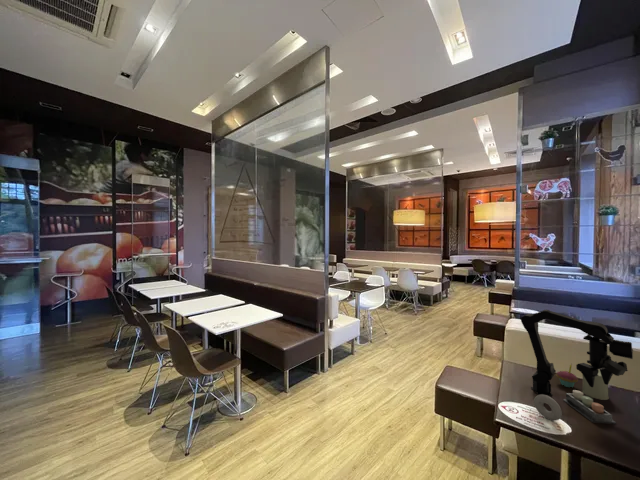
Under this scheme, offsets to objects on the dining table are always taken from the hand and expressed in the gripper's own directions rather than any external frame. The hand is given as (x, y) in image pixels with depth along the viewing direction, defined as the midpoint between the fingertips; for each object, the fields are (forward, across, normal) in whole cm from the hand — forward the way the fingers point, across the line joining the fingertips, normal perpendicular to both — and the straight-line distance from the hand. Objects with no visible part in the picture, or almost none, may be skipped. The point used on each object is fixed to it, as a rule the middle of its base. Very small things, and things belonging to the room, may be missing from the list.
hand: (598, 385), depth 120 cm
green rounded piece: (+9, -5, +1) cm, 11 cm away
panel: (+12, -5, +1) cm, 13 cm away
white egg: (+9, -3, +6) cm, 12 cm away
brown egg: (+9, -7, -3) cm, 12 cm away
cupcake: (+12, +11, +20) cm, 26 cm away
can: (+12, +15, +10) cm, 22 cm away
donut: (+12, -28, +2) cm, 30 cm away
